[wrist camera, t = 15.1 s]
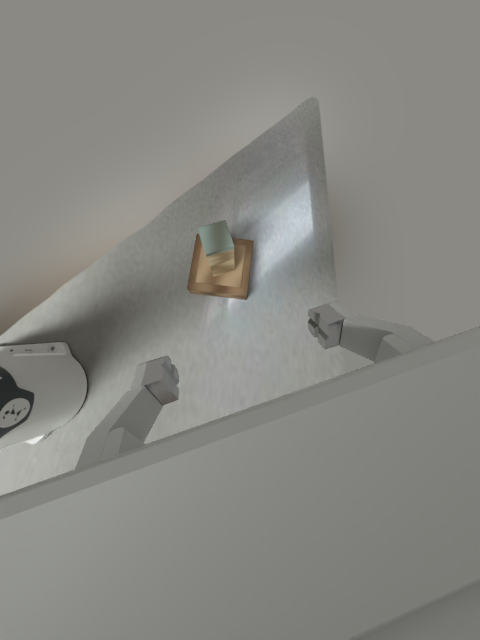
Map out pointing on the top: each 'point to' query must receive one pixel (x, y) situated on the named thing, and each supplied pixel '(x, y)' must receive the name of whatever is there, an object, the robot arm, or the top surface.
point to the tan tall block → (218, 247)
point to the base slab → (223, 284)
